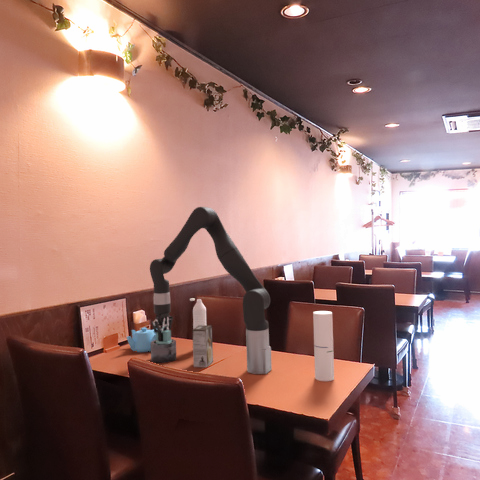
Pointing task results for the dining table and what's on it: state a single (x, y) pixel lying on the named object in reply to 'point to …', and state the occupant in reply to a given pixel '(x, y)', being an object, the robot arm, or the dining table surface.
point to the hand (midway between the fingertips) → (163, 340)
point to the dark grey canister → (163, 352)
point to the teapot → (141, 340)
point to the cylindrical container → (323, 345)
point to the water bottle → (199, 313)
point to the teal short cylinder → (164, 337)
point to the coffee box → (202, 346)
